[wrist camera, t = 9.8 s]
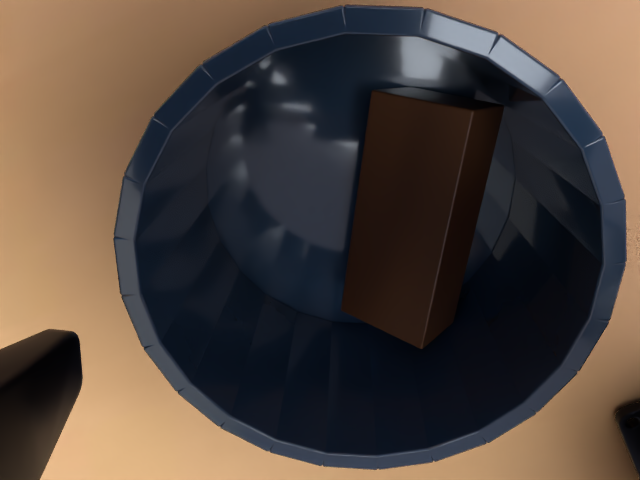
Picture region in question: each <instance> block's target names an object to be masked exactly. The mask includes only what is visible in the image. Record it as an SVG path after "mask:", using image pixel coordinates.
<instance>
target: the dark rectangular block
mask: <svg viewBox="0 0 640 480" xmlns="http://www.w3.org/2000/svg"><path fill="white" fill-rule="evenodd" d="M503 111H504V105H502V104H497V103H492V102H487V101H481V100H476V99H471V98H466V97H460V96H455V95H450V94H445V93H440V92H434V91H429V90H424V89H419V88H413V87H404V88H391V89H378V90H372V92H371V98H370V106H369V113H368V120H367V127H366V134H365V141H364V148H363V155H362V163H361V170H360V177H359V184H358V191H357V198H356V205H355V212H354V220H353V227H352V234H351V241H350V248H349V255H348V262H347V269H346V277H345V284H344V291H343V298H342V305H341V311H343V312H345V313H347V314H349V315H351V316H353V317H355V318H357V319H359V320H362V321H364V322H366V323H368V324H370V325H372V326H374V327H376V328H378V329H380V330H382V331H384V332H386V333H388V334H391V335H393V336H395V337H397V338H399V339H401V340H403V341H405V342H407V343H409V344H411V345H413V346H415V347H417V348H420V349H423V348H424V347H425V346H427V345H428V344H429V343H430V342H431V341H432V340H434V339H435V338H436V337H437V336H438V335H439V334H440V333H442V332H443V331H444V330H445V329H446V328H447V327H449V326H450V325H451V324H452V323H453V321H454V317H455V313H456V309H457V304H458V300H459V296H460V292H461V288H462V283H463V279H464V275H465V271H466V267H467V262H468V258H469V254H470V250H471V246H472V241H473V237H474V233H475V229H476V225H477V220H478V216H479V212H480V208H481V204H482V199H483V195H484V191H485V187H486V183H487V178H488V174H489V170H490V166H491V162H492V157H493V153H494V149H495V145H496V141H497V136H498V132H499V128H500V124H501V120H502V115H503Z"/></svg>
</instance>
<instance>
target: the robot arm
mask: <svg viewBox="0 0 640 480" xmlns="http://www.w3.org/2000/svg"><path fill="white" fill-rule="evenodd" d="M82 379H83V375H82V363H81V352H80V341H79V338H78V335H77V334H76V333H75V332H73V331H65V330H56V329H47V330H45V331H42V332H40V333H38V334H35V335H33V336H31V337H28V338H26V339H24V340H21V341H19V342H17V343H14V344H12V345H10V346H7V347H5V348H3V349H0V480H40V478H41V476H42V474H43V471H44V469H45V467H46V465H47V463H48V461H49V458H50V456H51V454H52V452H53V450H54V448H55V445H56V443H57V441H58V439H59V437H60V434H61V432H62V430H63V428H64V426H65V423H66V421H67V419H68V417H69V415H70V412H71V410H72V408H73V406H74V404H75V401H76V399H77V397H78V395H79V392H80V389H81V386H82ZM631 418H633V419H632V420H630V421H627V420H629V419H631ZM615 421H616V424H617V426H618V429H619V431H620V433H621V436H622V438H623V441H624V443H625V446H626V448H627V451H628V453H629V455H630V458H631V460H632V463H633V465H634V468H635V470H636V473H637V475H638V477H639V480H640V401H639V402H637V403H634V404H631V405H628V406H625V407H623V408H621V409H619V410H618V411H617V412H616V414H615Z"/></svg>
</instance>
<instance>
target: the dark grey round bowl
mask: <svg viewBox="0 0 640 480" xmlns="http://www.w3.org/2000/svg"><path fill="white" fill-rule="evenodd" d="M404 87H413V88H419V89H424V90H429V91H434V92H440V93H445V94H450V95H455V96H460V97H466V98H471V99H476V100H481V101H487V102H492V103H497V104H502V105H504V111H503V115H502V120H501V124H500V128H499V132H498V136H497V141H496V145H495V149H494V153H493V157H492V162H491V166H490V170H489V174H488V178H487V183H486V187H485V191H484V195H483V199H482V204H481V208H480V212H479V216H478V220H477V225H476V229H475V233H474V237H473V241H472V246H471V250H470V254H469V258H468V262H467V267H466V271H465V275H464V279H463V283H462V288H461V292H460V296H459V300H458V304H457V309H456V313H455V317H454V321H453V323H452V324H451V325H450V326H449V327H447V328H446V329H445V330H444V331H443V332H442V333H440V334H439V335H438V336H437V337H436V338H435V339H434V340H432V341H431V342H430V343H429V344H428V345H427V346H425V347H424V348H423V349H420V348H417V347H415V346H413V345H411V344H409V343H407V342H405V341H403V340H401V339H399V338H397V337H395V336H393V335H391V334H388V333H386V332H384V331H382V330H380V329H378V328H376V327H374V326H372V325H370V324H368V323H366V322H364V321H362V320H359V319H357V318H355V317H353V316H351V315H349V314H347V313H345V312H343V311H341V305H342V298H343V291H344V284H345V277H346V269H347V262H348V255H349V248H350V241H351V234H352V227H353V220H354V212H355V205H356V198H357V191H358V184H359V177H360V170H361V163H362V155H363V148H364V141H365V134H366V127H367V120H368V113H369V106H370V98H371V92H372V90H378V89H391V88H404ZM624 198H625V195H624V192H623V189H622V186H621V183H620V180H619V177H618V174H617V171H616V169H615V166H614V163H613V160H612V157H611V154H610V151H609V148H608V145H607V142H606V139H605V137H604V136H603V133H602V131H601V130H600V128H599V127H598V126H597V124H596V123H595V122H594V120H593V119H592V117H591V116H590V115H589V113H588V112H587V111H586V109H585V108H584V107H583V105H582V104H581V103H580V101H579V100H578V99H577V97H576V96H575V95H574V93H573V92H572V91H571V89H570V88H569V87H568V85H567V84H566V82H565V81H564V80H563V79H561V78H560V76H559V75H558V74H557V73H555V72H554V71H552V70H551V69H550V68H548V67H547V66H546V65H544V64H543V63H541V62H540V61H539V60H537V59H536V58H534V57H533V56H532V55H530V54H529V53H527V52H526V51H525V50H523V49H522V48H521V47H519V46H518V45H516V44H515V43H514V42H512V41H511V40H509V39H508V38H507V37H505V36H504V35H502V34H498V32H496V31H493V30H490V29H487V28H484V27H482V26H479V25H476V24H473V23H470V22H467V21H464V20H461V19H458V18H455V17H452V16H449V15H446V14H443V13H440V12H437V11H434V10H431V9H428V8H427V9H424V8H423V7H404V6H376V5H349V4H347V5H345V6H343V5H339V6H336V7H332V8H328V9H324V10H320V11H316V12H312V13H308V14H304V15H300V16H296V17H292V18H288V19H284V20H280V21H276V22H272V23H269V24H268V25H264V26H262V27H261V28H259V29H257V30H256V31H254V32H252V33H250V34H249V35H247V36H245V37H244V38H242V39H240V40H239V41H237V42H235V43H233V44H232V45H230V46H228V47H227V48H225V49H223V50H222V51H220V52H218V53H216V54H215V55H213V56H211V57H210V58H208V59H206V60H205V61H203V64H200V65H198V66H197V68H196V69H195V70H194V71H193V72H192V73H191V74H190V75H189V76H188V77H187V78H186V79H185V80H184V82H183V83H182V84H181V85H180V86H179V87H178V88H177V89H176V90H175V91H174V92H173V93H172V94H171V96H170V97H169V98H168V99H167V100H166V101H165V102H164V103H163V104H162V105H161V106H160V107H159V108H158V109H157V111H156V112H155V113H154V116H152V117H151V119H150V121H149V123H148V125H147V127H146V129H145V131H144V133H143V135H142V137H141V139H140V141H139V143H138V145H137V148H136V150H135V152H134V154H133V156H132V158H131V160H130V162H129V164H128V166H127V168H126V170H125V172H124V176H123V180H122V186H121V192H120V198H119V204H118V210H117V216H116V223H115V229H114V238H113V239H114V247H115V255H116V263H117V271H118V279H119V287H120V294H121V295H122V300H123V302H124V304H125V307H126V309H127V312H128V314H129V316H130V319H131V321H132V323H133V326H134V328H135V331H136V333H137V335H138V338H139V340H140V343H141V345H142V346H143V347H144V350H145V352H146V353H147V354H148V355H149V357H150V358H151V359H152V361H153V362H154V363H155V365H156V366H157V367H158V369H159V370H160V371H161V373H162V374H163V375H164V376H165V378H166V379H167V380H168V382H169V383H170V384H171V386H172V387H173V388H174V390H175V391H178V394H179V395H180V396H182V397H183V398H184V399H185V400H187V401H188V402H189V403H190V404H191V405H193V406H194V407H195V408H196V409H198V410H199V411H200V412H201V413H202V414H204V415H205V416H206V417H207V418H209V419H210V420H211V421H212V422H213V423H215V424H216V425H217V426H220V427H221V428H222V429H224V430H226V431H228V432H230V433H232V434H234V435H236V436H238V437H240V438H242V439H243V440H245V441H247V442H249V443H251V444H253V445H255V446H257V447H259V448H261V449H263V450H265V451H270V452H271V453H274V454H277V455H281V456H285V457H289V458H292V459H296V460H300V461H304V462H307V463H311V464H315V465H319V466H322V465H323V466H324V467H338V468H354V469H370V470H377V469H380V470H381V469H389V468H396V467H403V466H411V465H418V464H425V463H432V462H433V461H434V462H436V461H439V460H442V459H445V458H448V457H450V456H453V455H456V454H459V453H462V452H465V451H468V450H470V449H473V448H476V447H479V446H482V445H485V444H486V443H490V442H491V441H493V440H494V439H496V438H498V437H499V436H501V435H503V434H504V433H506V432H508V431H509V430H511V429H512V428H514V427H516V426H517V425H519V424H521V423H522V422H524V421H526V420H527V419H529V418H530V417H532V416H534V415H535V414H536V412H539V411H540V410H541V409H542V408H543V407H544V406H545V405H546V404H547V403H548V402H549V401H550V400H551V399H552V398H553V397H554V396H555V395H556V394H557V393H558V392H559V391H560V390H561V389H562V388H563V387H564V386H565V385H566V384H567V383H568V382H569V381H570V380H571V379H572V378H573V377H574V376H575V375H576V374H577V371H580V369H581V368H582V366H583V364H584V363H585V361H586V359H587V358H588V356H589V355H590V353H591V351H592V350H593V348H594V346H595V345H596V343H597V341H598V340H599V338H600V336H601V335H602V333H603V332H604V330H605V328H606V327H607V325H608V323H609V320H610V319H611V315H612V312H613V308H614V305H615V301H616V298H617V294H618V291H619V287H620V284H621V280H622V277H623V273H624V270H625V266H626V263H625V262H626V261H627V249H626V200H625V199H624Z"/></svg>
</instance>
